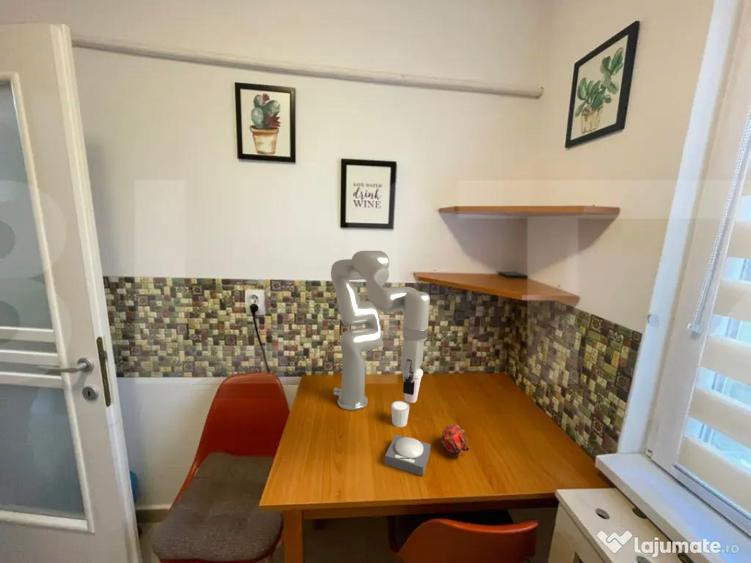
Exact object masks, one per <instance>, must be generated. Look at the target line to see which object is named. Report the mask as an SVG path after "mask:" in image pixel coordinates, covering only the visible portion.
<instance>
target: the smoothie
mask: <svg viewBox="0 0 751 563" xmlns="http://www.w3.org/2000/svg"><path fill="white" fill-rule="evenodd" d="M410 371H412V372H413V370H412V369H410ZM404 372H405V369H404V371H401V374H402V376H403V377H402V380H403V381H404ZM423 375H424V371H423V369H422V368H421V367H420V368H419V369H418V371H417V372H416V373H415V375H414V381H413V382H415V383H414V394H413V395H410V394H406V393H403V395H404V402H405V401H406V403H408V404H413V403H416V402H417V401H418V395H419V391H420V385H421V381H422V377H423ZM409 376H411V377H412V374H410V373H409Z"/></svg>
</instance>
